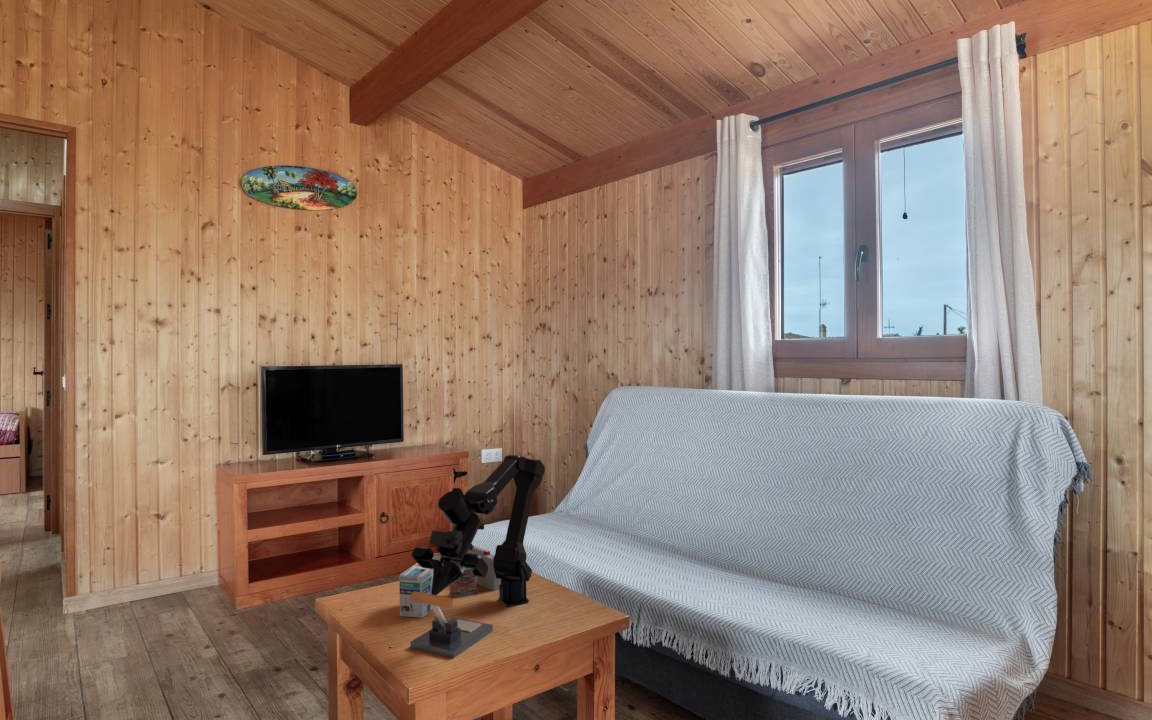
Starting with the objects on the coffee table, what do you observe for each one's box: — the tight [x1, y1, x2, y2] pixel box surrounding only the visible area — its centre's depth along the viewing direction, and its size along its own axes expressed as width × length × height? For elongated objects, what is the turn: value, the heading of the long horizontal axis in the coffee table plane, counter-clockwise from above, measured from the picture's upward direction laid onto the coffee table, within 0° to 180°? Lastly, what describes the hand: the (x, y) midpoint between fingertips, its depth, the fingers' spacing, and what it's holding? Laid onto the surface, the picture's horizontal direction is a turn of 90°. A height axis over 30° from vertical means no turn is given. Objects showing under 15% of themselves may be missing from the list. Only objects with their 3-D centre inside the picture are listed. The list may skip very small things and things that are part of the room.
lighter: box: [448, 568, 479, 599], centre depth 187 cm, size 8×3×10 cm, turn 114°
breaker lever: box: [411, 591, 454, 626], centre depth 152 cm, size 2×10×10 cm
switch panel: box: [409, 616, 494, 659], centre depth 157 cm, size 16×12×6 cm
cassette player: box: [467, 545, 501, 592], centre depth 196 cm, size 16×3×10 cm, turn 43°
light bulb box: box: [398, 562, 440, 619], centre depth 175 cm, size 11×7×11 cm, turn 168°
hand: (433, 594), depth 150 cm, fingers closed
